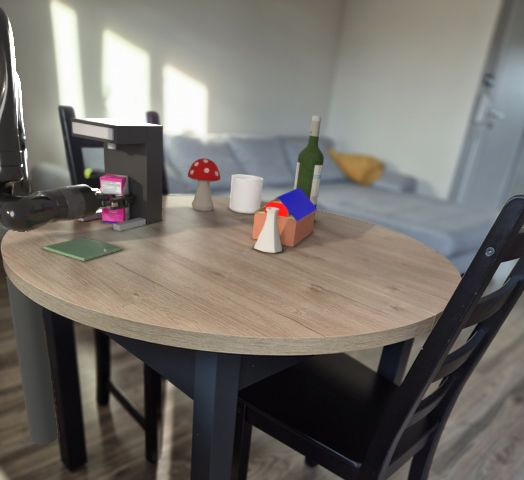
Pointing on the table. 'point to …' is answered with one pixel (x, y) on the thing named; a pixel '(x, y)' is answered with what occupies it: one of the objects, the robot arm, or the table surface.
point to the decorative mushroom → (203, 182)
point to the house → (288, 217)
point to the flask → (269, 233)
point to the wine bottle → (310, 164)
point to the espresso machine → (129, 163)
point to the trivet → (82, 248)
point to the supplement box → (118, 187)
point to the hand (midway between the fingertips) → (120, 195)
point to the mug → (245, 193)
